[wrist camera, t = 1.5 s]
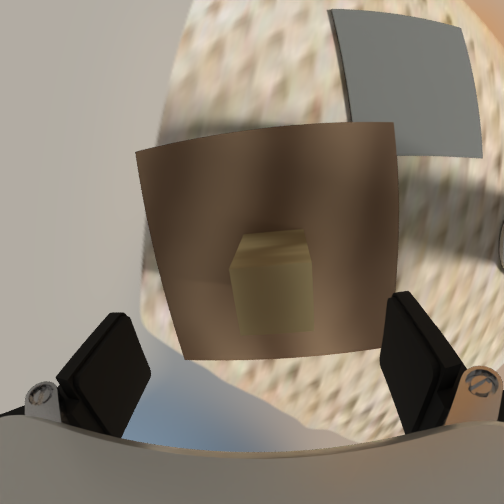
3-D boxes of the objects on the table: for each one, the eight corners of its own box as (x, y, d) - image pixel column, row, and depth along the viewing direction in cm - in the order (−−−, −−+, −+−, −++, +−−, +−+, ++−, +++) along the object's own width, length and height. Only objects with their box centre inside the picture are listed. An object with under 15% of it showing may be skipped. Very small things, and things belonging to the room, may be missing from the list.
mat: (459, 28, 20) (460, 28, 19) (480, 158, 25) (482, 158, 25) (331, 10, 22) (331, 9, 22) (355, 156, 27) (356, 156, 27)
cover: (343, 133, 27) (435, 115, 9) (350, 270, 32) (408, 395, 14) (198, 148, 29) (86, 157, 11) (219, 280, 34) (164, 407, 16)
